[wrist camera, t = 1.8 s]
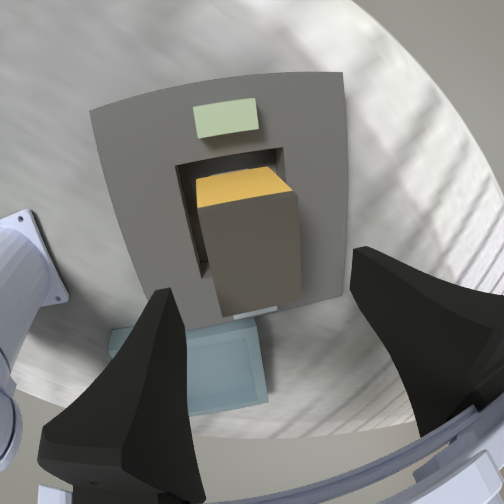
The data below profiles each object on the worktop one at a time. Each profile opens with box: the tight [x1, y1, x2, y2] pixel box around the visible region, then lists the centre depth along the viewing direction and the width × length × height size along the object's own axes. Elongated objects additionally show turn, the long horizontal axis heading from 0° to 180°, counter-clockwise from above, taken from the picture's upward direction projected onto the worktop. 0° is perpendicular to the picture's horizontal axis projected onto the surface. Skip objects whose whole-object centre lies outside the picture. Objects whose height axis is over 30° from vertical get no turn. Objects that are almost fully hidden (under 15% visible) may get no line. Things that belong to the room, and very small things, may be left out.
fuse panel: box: [89, 72, 348, 331], centre depth 17 cm, size 14×16×3 cm
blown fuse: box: [196, 166, 302, 318], centre depth 16 cm, size 4×6×7 cm
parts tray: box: [107, 317, 269, 417], centre depth 24 cm, size 12×12×2 cm
